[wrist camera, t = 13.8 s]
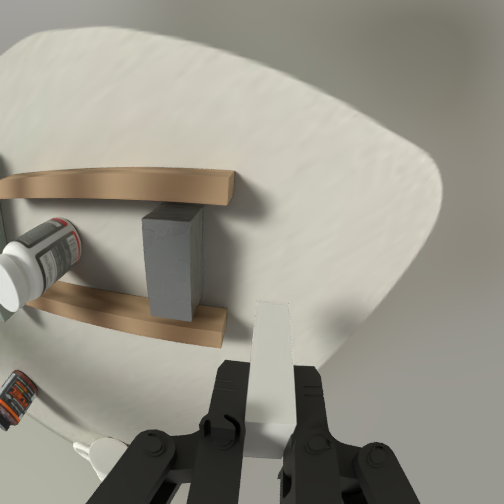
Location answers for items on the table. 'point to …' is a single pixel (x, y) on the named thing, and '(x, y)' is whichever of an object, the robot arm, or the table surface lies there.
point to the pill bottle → (37, 261)
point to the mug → (102, 454)
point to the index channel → (134, 188)
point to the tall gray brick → (173, 260)
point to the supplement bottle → (15, 398)
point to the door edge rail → (3, 313)
